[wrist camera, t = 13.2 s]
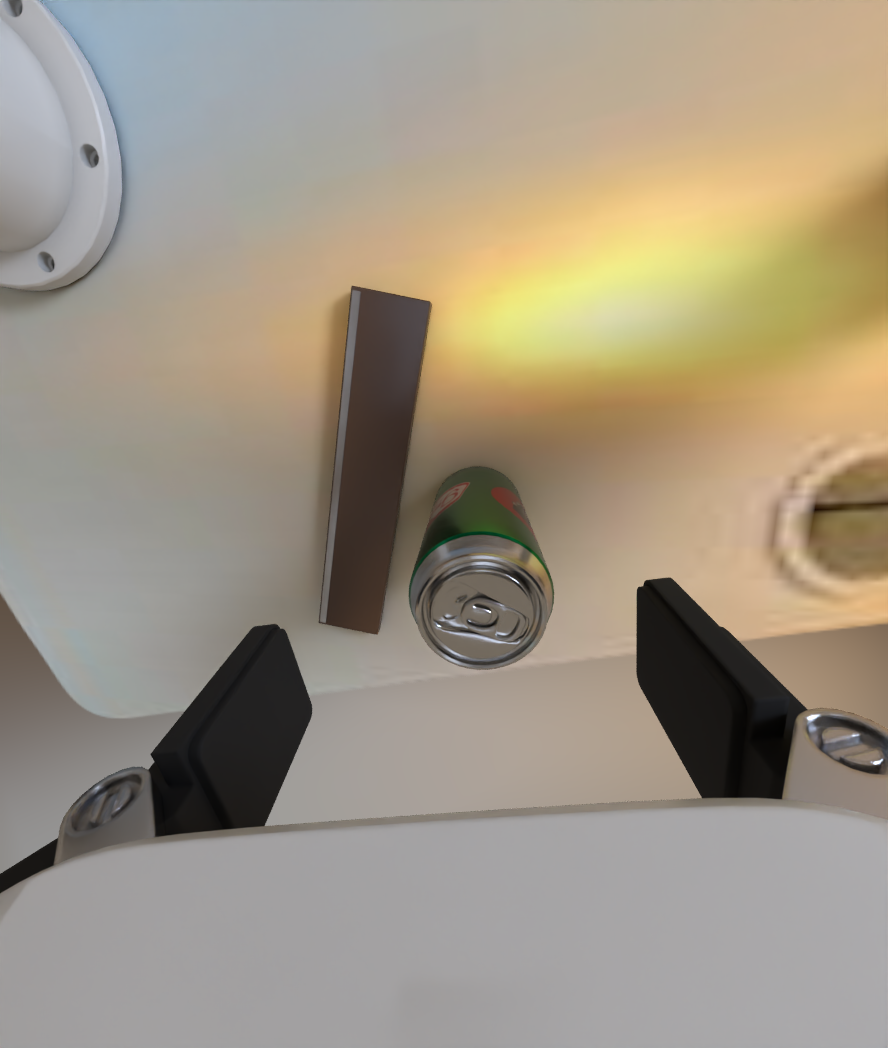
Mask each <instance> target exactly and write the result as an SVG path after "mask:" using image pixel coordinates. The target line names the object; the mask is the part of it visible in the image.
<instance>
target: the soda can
mask: <svg viewBox="0 0 888 1048" xmlns="http://www.w3.org/2000/svg"><path fill="white" fill-rule="evenodd" d="M409 604H410V608H411V612H412V615H413V617H414V619H415V621H416V623H417V625H418V628H419V631H420V633H421V635H422V637H423V639H424V640H425V642H426V643H427V645H428V646H429V647H430V648H431V649H432V650H433V651H434V652H435V653H436V654H438V655H439V656H440V657H441V658H443V659H445V660H447V661H448V662H450V663H453V664H455V665H458V666H461V667H465V668H469V669H477V670H488V669H496V668H500V667H504V666H507V665H510V664H512V663H515V662H517V661H518V660H520V659H522V658H523V657H525V656H526V655H527V654H528V653H530V652H531V651H532V650H533V649H534V647H535V646H536V645H537V644H538V642H539V641H540V639H541V638H542V636H543V633H544V631H545V629H546V625H547V622H548V620H549V617H550V615H551V613H552V608H553V604H554V589H553V582H552V579H551V576H550V573H549V570H548V568H547V565H546V563H545V560H544V558H543V555H542V552H541V550H540V547H539V545H538V542H537V540H536V537H535V535H534V532H533V529H532V527H531V524H530V522H529V519H528V517H527V514H526V512H525V509H524V506H523V504H522V501H521V499H520V496H519V494H518V491H517V489H516V488H515V486H514V485H513V483H512V482H511V481H510V480H509V479H508V478H507V477H506V476H505V475H503V474H502V473H500V472H498V471H496V470H494V469H490V468H487V467H470V468H465V469H462V470H460V471H458V472H456V473H454V474H452V475H451V476H450V477H449V478H447V479H446V481H445V482H444V483H443V484H442V486H441V487H440V489H439V491H438V493H437V495H436V498H435V502H434V505H433V508H432V511H431V515H430V518H429V521H428V525H427V528H426V531H425V534H424V538H423V541H422V544H421V547H420V551H419V554H418V557H417V561H416V564H415V567H414V570H413V574H412V577H411V581H410V585H409Z"/></svg>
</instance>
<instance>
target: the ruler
mask: <svg viewBox="0 0 888 1048" xmlns="http://www.w3.org/2000/svg"><path fill="white" fill-rule="evenodd" d="M431 307H432V304H431V302H430V301H425V300H420V299H415V298H410V297H405V296H400V295H395V294H390V293H386V292H381V291H376V290H371V289H366V288H361V287H356V286H352V287H351V297H350V308H349V318H348V328H347V339H346V349H345V359H344V369H343V380H342V390H341V400H340V410H339V421H338V431H337V441H336V451H335V462H334V472H333V482H332V492H331V503H330V513H329V523H328V533H327V544H326V554H325V564H324V575H323V585H322V595H321V605H320V616H319V623H322V624H327V625H332V626H337V627H342V628H347V629H352V630H357V631H362V632H367V633H372V634H378V632H379V630H380V625H381V619H382V613H383V607H384V600H385V594H386V588H387V582H388V575H389V569H390V563H391V557H392V550H393V544H394V538H395V532H396V526H397V519H398V513H399V507H400V501H401V494H402V488H403V482H404V476H405V469H406V463H407V457H408V451H409V444H410V438H411V432H412V426H413V419H414V413H415V407H416V401H417V394H418V388H419V382H420V376H421V369H422V363H423V357H424V351H425V344H426V338H427V332H428V326H429V319H430V313H431Z"/></svg>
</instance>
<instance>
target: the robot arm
mask: <svg viewBox="0 0 888 1048" xmlns="http://www.w3.org/2000/svg"><path fill="white" fill-rule="evenodd" d="M121 197H122V166H121V156H120V151H119V145H118V140H117V134H116V129H115V126H114V123H113V120H112V117H111V113H110V110H109V107H108V104H107V101H106V98H105V96H104V93H103V91H102V89H101V87H100V85H99V83H98V81H97V79H96V77H95V75H94V72H93V70H92V68H91V66H90V64H89V63H88V61H87V60H86V58H85V56H84V55H83V53H82V52H81V50H80V49H79V47H78V46H77V44H76V43H75V41H74V40H73V38H72V36H71V35H70V34H69V32H68V31H67V30H66V29H65V28H64V27H63V25H62V24H61V23H60V22H59V21H58V20H57V19H56V17H55V16H54V15H53V14H52V13H51V12H50V10H49V9H48V8H47V7H46V6H45V5H44V4H43V3H41V2H40V1H39V0H0V286H2V287H8V288H14V289H19V290H25V291H45V290H51V289H55V288H59V287H63V286H66V285H69V284H70V283H72V282H74V281H76V280H77V279H79V278H81V277H83V276H84V275H85V274H86V273H87V272H88V271H89V270H90V269H91V268H92V267H93V266H94V265H95V264H96V263H97V262H98V261H99V260H100V259H101V257H102V255H103V254H104V252H105V250H106V249H107V247H108V245H109V244H110V242H111V239H112V236H113V233H114V230H115V227H116V224H117V221H118V218H119V212H120V204H121ZM637 678H638V682H639V685H640V687H641V689H642V691H643V693H644V694H645V696H646V698H647V700H648V701H649V703H650V705H651V707H652V709H653V711H654V712H655V714H656V716H657V718H658V720H659V721H660V723H661V725H662V727H663V729H664V730H665V732H666V734H667V736H668V738H669V739H670V741H671V743H672V745H673V747H674V748H675V750H676V752H677V753H678V755H679V757H680V759H681V761H682V763H683V764H684V766H685V768H686V770H687V772H688V773H689V775H690V777H691V779H692V781H693V782H694V784H695V786H696V788H697V789H698V791H699V793H700V795H701V796H702V798H697V799H676V800H652V801H631V802H613V803H597V804H582V805H565V806H549V807H533V808H517V809H501V810H486V811H471V812H456V813H443V814H442V813H441V814H427V815H412V816H398V817H384V818H369V819H355V820H342V821H329V822H315V823H303V824H289V825H275V826H265V823H266V821H267V819H268V817H269V814H270V812H271V810H272V807H273V805H274V803H275V800H276V798H277V796H278V793H279V791H280V789H281V786H282V784H283V782H284V779H285V777H286V775H287V772H288V770H289V768H290V765H291V763H292V761H293V759H294V756H295V754H296V752H297V749H298V747H299V745H300V742H301V740H302V737H303V735H304V733H305V731H306V728H307V726H308V723H309V722H310V719H311V715H312V704H311V701H310V698H309V695H308V693H307V690H306V687H305V684H304V681H303V678H302V676H301V673H300V670H299V667H298V664H297V661H296V658H295V656H294V653H293V650H292V647H291V644H290V641H289V639H288V636H287V633H286V631H285V630H284V629H280V627H279V626H278V625H276V624H271V625H263V626H255V627H253V628H252V629H251V630H250V631H249V633H248V634H247V635H246V636H245V638H244V639H243V640H242V641H241V642H240V644H239V645H238V646H237V647H236V649H235V650H234V651H233V652H232V654H231V655H230V656H229V657H228V659H227V660H226V661H225V662H224V664H223V665H222V666H221V667H220V669H219V670H218V671H217V672H216V673H215V675H214V676H213V677H212V678H211V680H210V681H209V682H208V683H207V685H206V686H205V687H204V688H203V690H202V691H201V692H200V693H199V695H198V696H197V697H196V698H195V700H194V701H193V702H192V703H191V705H190V706H189V707H188V708H187V709H186V711H185V712H184V713H183V715H182V716H181V717H180V718H179V719H178V721H177V722H176V723H175V724H174V726H173V727H172V728H171V730H170V731H169V732H168V733H167V734H166V736H165V737H164V738H163V739H162V740H161V742H160V743H159V744H158V746H157V747H156V748H155V749H154V751H153V752H152V753H151V756H152V758H153V760H154V761H155V762H154V763H153V765H152V766H151V767H150V769H149V770H147V769H145V768H143V767H130V768H127V769H123V770H120V771H118V772H116V773H114V774H111V775H109V776H107V777H106V778H104V779H103V780H101V781H99V782H98V783H96V784H95V785H94V786H92V787H91V788H90V789H89V790H88V791H86V792H85V793H84V794H82V796H81V797H80V798H79V799H78V800H77V801H76V802H75V803H74V804H73V805H72V806H71V807H70V809H69V810H68V812H67V813H66V815H65V816H64V818H63V821H62V823H61V826H60V830H59V836H58V838H57V839H55V840H54V841H52V842H51V843H49V844H47V845H46V846H44V847H43V848H41V849H39V850H38V851H36V852H35V853H33V854H31V855H30V856H28V857H27V858H25V859H23V860H22V861H20V862H19V863H17V864H15V865H14V866H12V867H11V868H9V869H7V870H6V871H4V872H3V873H1V874H0V1048H888V729H887V728H885V727H883V726H881V725H879V724H877V723H875V722H874V721H872V720H870V719H867V718H864V717H862V716H859V715H857V714H854V713H851V712H846V711H842V710H838V709H828V708H816V709H810V710H808V709H806V708H805V707H804V706H803V705H802V704H801V703H800V702H799V701H798V700H797V699H796V698H795V697H794V696H793V695H792V694H791V693H790V692H789V691H788V690H787V689H786V688H785V687H784V686H783V685H782V684H781V683H780V682H779V681H778V680H777V679H776V678H775V677H774V676H773V675H772V674H771V673H770V672H769V671H768V670H767V669H766V668H765V667H764V666H763V665H762V664H761V663H760V662H759V661H758V660H757V659H756V658H755V657H754V656H753V655H752V654H751V653H750V652H749V651H748V650H747V649H746V648H745V647H744V646H743V645H742V644H741V643H740V642H739V641H738V640H737V639H736V638H735V637H734V636H733V635H732V634H731V633H730V632H729V631H727V630H726V629H725V628H723V627H720V626H719V625H718V624H717V623H716V622H715V621H714V620H713V619H712V618H711V617H710V616H709V615H708V614H707V613H706V612H705V611H704V610H703V609H702V608H701V607H700V606H699V605H698V604H697V603H696V602H695V601H694V600H693V599H692V598H691V597H690V596H689V595H688V594H687V593H686V592H685V591H684V590H683V589H682V588H681V587H680V586H679V585H678V584H677V583H676V582H675V581H674V580H673V579H671V578H661V579H652V580H646V581H645V582H644V586H642V587H638V589H637Z"/></svg>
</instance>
